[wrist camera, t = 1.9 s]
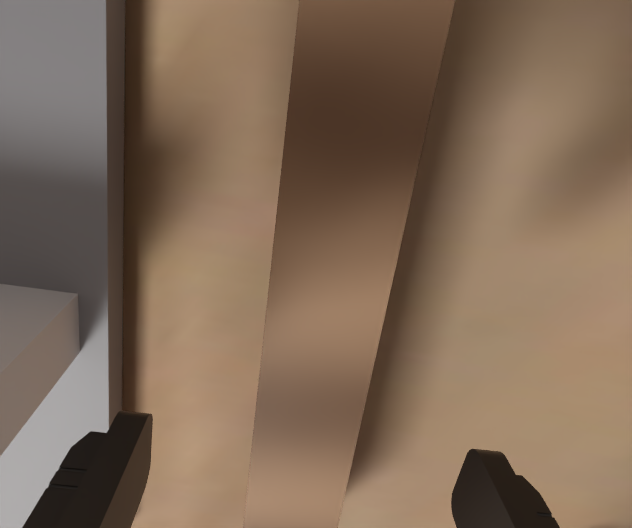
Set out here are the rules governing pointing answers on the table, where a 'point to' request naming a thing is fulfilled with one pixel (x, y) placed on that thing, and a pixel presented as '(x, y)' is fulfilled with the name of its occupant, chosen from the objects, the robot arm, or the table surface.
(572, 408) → the table surface
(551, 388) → the table surface
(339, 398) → the walnut bar
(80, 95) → the fulcrum stand
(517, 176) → the table surface
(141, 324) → the table surface
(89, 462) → the robot arm
